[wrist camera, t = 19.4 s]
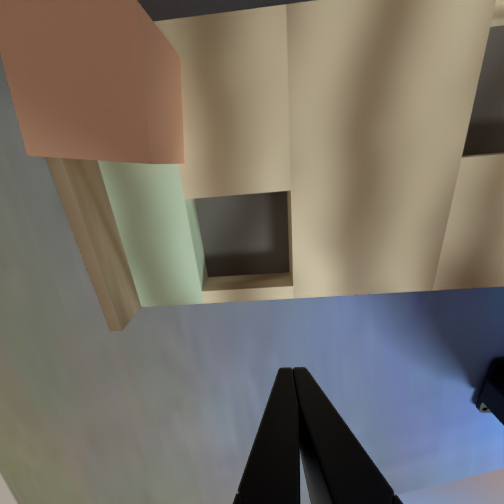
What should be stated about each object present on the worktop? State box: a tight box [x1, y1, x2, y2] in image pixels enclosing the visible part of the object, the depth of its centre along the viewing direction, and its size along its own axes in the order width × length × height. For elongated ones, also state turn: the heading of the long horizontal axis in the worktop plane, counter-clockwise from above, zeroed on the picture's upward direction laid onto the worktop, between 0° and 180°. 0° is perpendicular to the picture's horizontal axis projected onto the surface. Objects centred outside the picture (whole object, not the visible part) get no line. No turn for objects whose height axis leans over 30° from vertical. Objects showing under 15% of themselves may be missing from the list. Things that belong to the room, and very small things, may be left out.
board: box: [45, 0, 504, 331], centre depth 13 cm, size 30×16×5 cm, turn 95°
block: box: [0, 0, 185, 164], centre depth 11 cm, size 5×5×4 cm
